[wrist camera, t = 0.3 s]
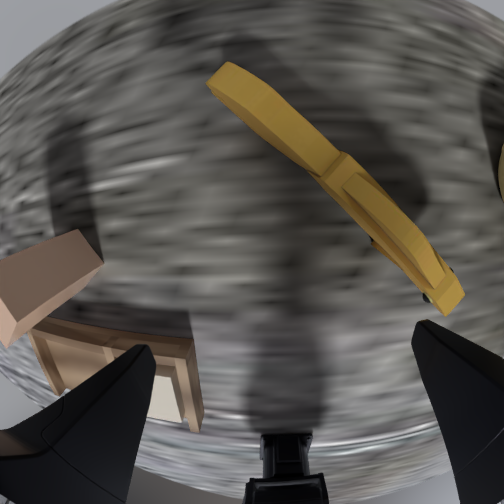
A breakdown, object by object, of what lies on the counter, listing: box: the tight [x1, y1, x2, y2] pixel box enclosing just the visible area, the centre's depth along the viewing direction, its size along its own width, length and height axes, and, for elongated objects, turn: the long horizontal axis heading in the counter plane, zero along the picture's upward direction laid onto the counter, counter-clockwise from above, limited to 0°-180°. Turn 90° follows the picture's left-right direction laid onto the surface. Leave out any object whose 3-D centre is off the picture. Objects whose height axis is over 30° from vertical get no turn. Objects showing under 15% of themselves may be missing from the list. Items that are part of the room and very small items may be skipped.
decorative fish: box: [206, 62, 465, 317], centre depth 17 cm, size 22×3×10 cm, turn 49°
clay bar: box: [0, 229, 104, 349], centre depth 17 cm, size 4×4×12 cm
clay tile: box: [147, 364, 186, 423], centre depth 24 cm, size 7×5×2 cm
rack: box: [27, 316, 204, 433], centre depth 25 cm, size 11×21×3 cm, turn 90°
